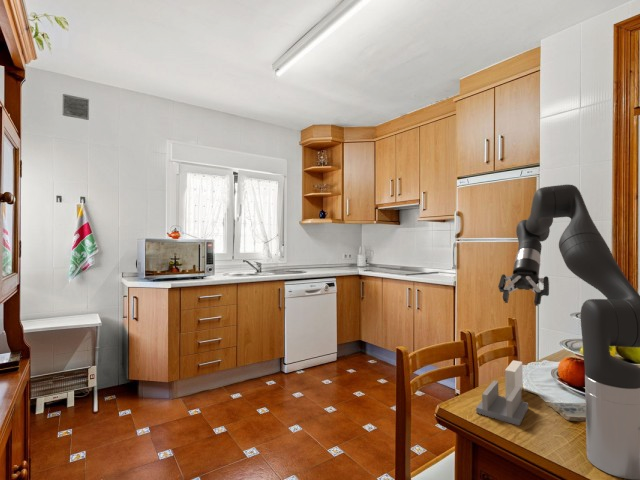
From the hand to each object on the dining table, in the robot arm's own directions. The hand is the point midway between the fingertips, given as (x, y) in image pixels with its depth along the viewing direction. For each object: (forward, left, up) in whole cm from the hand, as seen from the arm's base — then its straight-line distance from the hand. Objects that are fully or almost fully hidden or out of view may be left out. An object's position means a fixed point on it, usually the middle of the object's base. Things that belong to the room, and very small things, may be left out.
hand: (520, 302), depth 112 cm
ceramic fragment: (-15, +15, -26) cm, 33 cm away
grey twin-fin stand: (0, +25, -25) cm, 35 cm away
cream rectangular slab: (0, +11, -25) cm, 27 cm away
